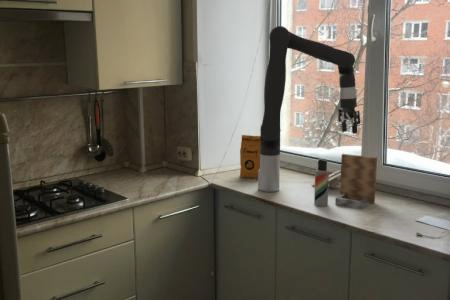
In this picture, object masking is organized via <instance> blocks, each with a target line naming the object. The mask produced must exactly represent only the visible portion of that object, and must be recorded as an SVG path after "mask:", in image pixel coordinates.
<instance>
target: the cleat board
mask: <svg viewBox="0 0 450 300" xmlns="http://www.w3.org/2000/svg"><path fill="white" fill-rule="evenodd" d="M340 164H341V165H340V166H341V167H340V171H341V175H340V182H339V184H340V185H339V188H340V189H339V195H338V196H337V197H335V206H340V207H346V208H350V209H351V208H352V209H359V210H363V209H364V208H366V206H369V204H370V205H374V204H375V202H376V201H375V200H376V188H377V187H376V186H377V169H378V166H377V165H378V157H374V156H367V155H358V154H357V155H356V154H347V153H343V154H341V162H340Z"/></svg>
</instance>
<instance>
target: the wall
mask: <svg viewBox="0 0 450 300" xmlns="http://www.w3.org/2000/svg"><path fill="white" fill-rule="evenodd" d="M338 177H341V169H340V170H336V171H334V172H333V173H329V184H328V186H329V187H331V188H332V189H335V188H337V187H340V182H339V180H338ZM311 186H312V187H313V188H315V182H313V183H311Z"/></svg>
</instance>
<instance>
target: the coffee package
mask: <svg viewBox="0 0 450 300" xmlns="http://www.w3.org/2000/svg"><path fill="white" fill-rule="evenodd" d="M239 155H240V156H239V160H240V162H239V163H240V172H239V173H240V174H239V176H240V177H242V178H248V179H254V180H255V179H257V180H258V170H259V169H260V135H247V134H241V141H240V150H239Z"/></svg>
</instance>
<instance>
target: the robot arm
mask: <svg viewBox="0 0 450 300" xmlns="http://www.w3.org/2000/svg"><path fill="white" fill-rule="evenodd" d="M268 39H269V57H268V58H269V59H268V62H267V68H266V72H265V78H264V90H263V91H264V92H263V101H264V103H263V105H264V111H263V117H262V122H261V125H260V130H259V131H260V135H259V136H260V169H259V170H258V179H257V189H258V190H260V191H262V192H266V193H267V192H268V193H273V192H279V191H280V179H281V178H280V173H281V170H280V169H281V112H282V111H281V110H282V105H283V101H284V96H285V90H286V83H287V82H286V81H287V78H286V77H287V60H286V59H287V53H288V49H290V50H294V51H297V52H301V53H302V54H305V55H307V56H309V57H312V58H315V59H318V60H319V61H322V62H323V61H324V62H325V63H326V62H327V63H329V64H333V65H335V66H337V69H338V77H339V78H338V79H339V80H338V81H339V82H338V85H339V90H338V91H339V93H338V95H339V108H338V110H337V115H338V116H337V117H338V119H337V120H338V121H337V122H340V124H341V132H347V130H348V125H347V122H348V121H349V122H350V123H351V133H352V134H353V135H354V134H358V125H361V114H360V113H361V112H360V110H356V109H355V108H357V107H358V103H357V102H358V101H357V100H358V99H357V89H356V77H355V73H354V65H355V63H356V58H355V55H354V54H353V53H351V52H349V51H345V50H342V49H339V48H335V47H333V46H331V45H328V44H326V43H322V42H319V41H316V40H313V39H308V38H305V37H301V36H300V35H297V34H295V33H293V32H291V31H289V29H287V28H286V27H285V26H283V25H282V26H281V25H278V26H275V27H273V28H272V29H271V30H270V33H269V37H268Z"/></svg>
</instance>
